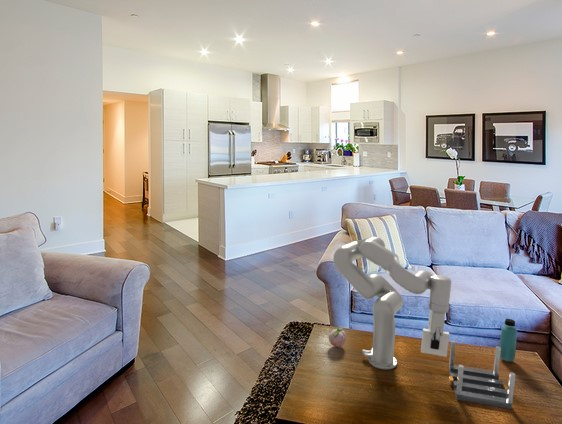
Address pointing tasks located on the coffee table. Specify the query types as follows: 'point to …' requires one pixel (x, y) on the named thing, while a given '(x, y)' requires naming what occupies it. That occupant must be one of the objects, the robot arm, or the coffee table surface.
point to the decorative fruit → (337, 337)
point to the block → (427, 343)
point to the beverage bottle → (508, 340)
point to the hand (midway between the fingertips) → (434, 346)
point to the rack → (481, 383)
